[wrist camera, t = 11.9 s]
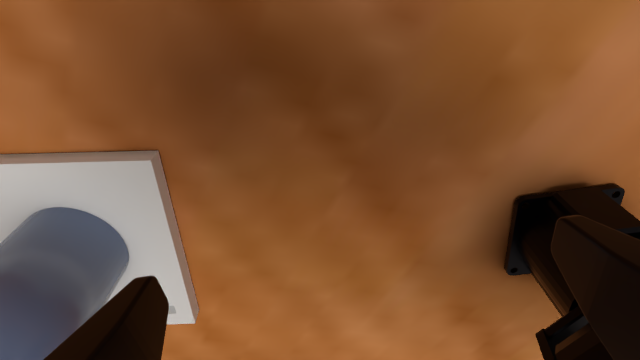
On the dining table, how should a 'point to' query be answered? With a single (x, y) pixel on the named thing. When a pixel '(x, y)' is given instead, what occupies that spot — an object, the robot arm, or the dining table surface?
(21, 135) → the dining table surface
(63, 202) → the tray
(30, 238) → the blue cylinder
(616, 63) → the dining table surface
